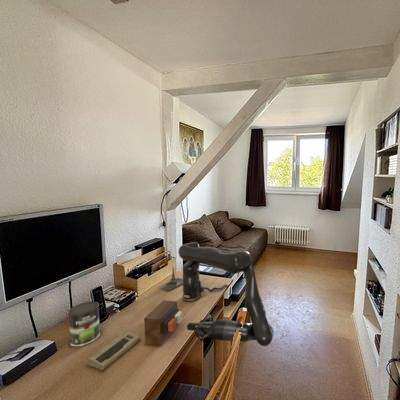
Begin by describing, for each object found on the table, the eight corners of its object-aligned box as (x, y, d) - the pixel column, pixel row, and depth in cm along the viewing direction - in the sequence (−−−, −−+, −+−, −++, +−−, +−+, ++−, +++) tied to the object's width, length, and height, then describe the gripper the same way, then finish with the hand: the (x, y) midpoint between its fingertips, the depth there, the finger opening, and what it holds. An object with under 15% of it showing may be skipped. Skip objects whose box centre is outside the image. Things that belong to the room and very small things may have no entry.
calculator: (108, 293, 127) (124, 297, 121) (108, 300, 128) (125, 305, 122) (86, 302, 118) (103, 308, 111) (87, 310, 118) (103, 316, 112)
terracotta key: (167, 331, 94) (167, 323, 94) (172, 325, 98) (172, 318, 98) (172, 331, 94) (172, 323, 94) (176, 326, 98) (176, 318, 97)
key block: (145, 344, 94) (144, 318, 92) (164, 323, 107) (163, 300, 106) (164, 346, 92) (163, 320, 91) (181, 325, 106) (180, 301, 105)
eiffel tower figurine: (169, 291, 138) (169, 271, 136) (158, 287, 142) (158, 267, 141) (187, 281, 151) (187, 262, 150) (177, 278, 155) (177, 260, 154)
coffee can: (102, 337, 97) (101, 307, 96) (71, 350, 90) (69, 318, 88) (97, 326, 104) (96, 298, 103) (68, 338, 97) (66, 307, 95)
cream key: (174, 323, 100) (174, 315, 99) (178, 318, 103) (178, 311, 103) (178, 323, 100) (178, 316, 99) (182, 318, 103) (182, 311, 103)
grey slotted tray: (103, 371, 80) (103, 363, 80) (87, 365, 83) (87, 357, 82) (139, 341, 95) (139, 334, 95) (125, 337, 98) (125, 330, 97)
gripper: (230, 312, 99) (194, 309, 101) (221, 332, 86) (180, 328, 88) (230, 327, 100) (194, 324, 102) (221, 350, 87) (180, 345, 89)
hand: (188, 326), depth 95 cm, fingers closed
